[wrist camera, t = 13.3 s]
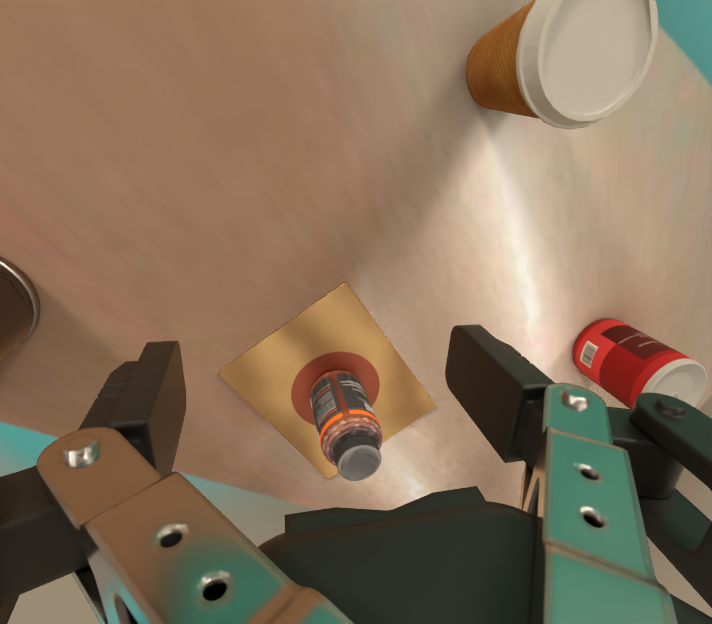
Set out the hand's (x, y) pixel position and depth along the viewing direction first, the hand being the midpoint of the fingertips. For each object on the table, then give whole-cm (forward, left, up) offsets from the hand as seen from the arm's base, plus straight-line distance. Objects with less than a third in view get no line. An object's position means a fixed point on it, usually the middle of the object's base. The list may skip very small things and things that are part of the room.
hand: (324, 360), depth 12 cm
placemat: (-7, -20, -28) cm, 35 cm away
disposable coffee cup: (+23, -2, -28) cm, 37 cm away
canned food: (+22, -37, -28) cm, 51 cm away
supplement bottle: (-7, -20, -28) cm, 35 cm away
